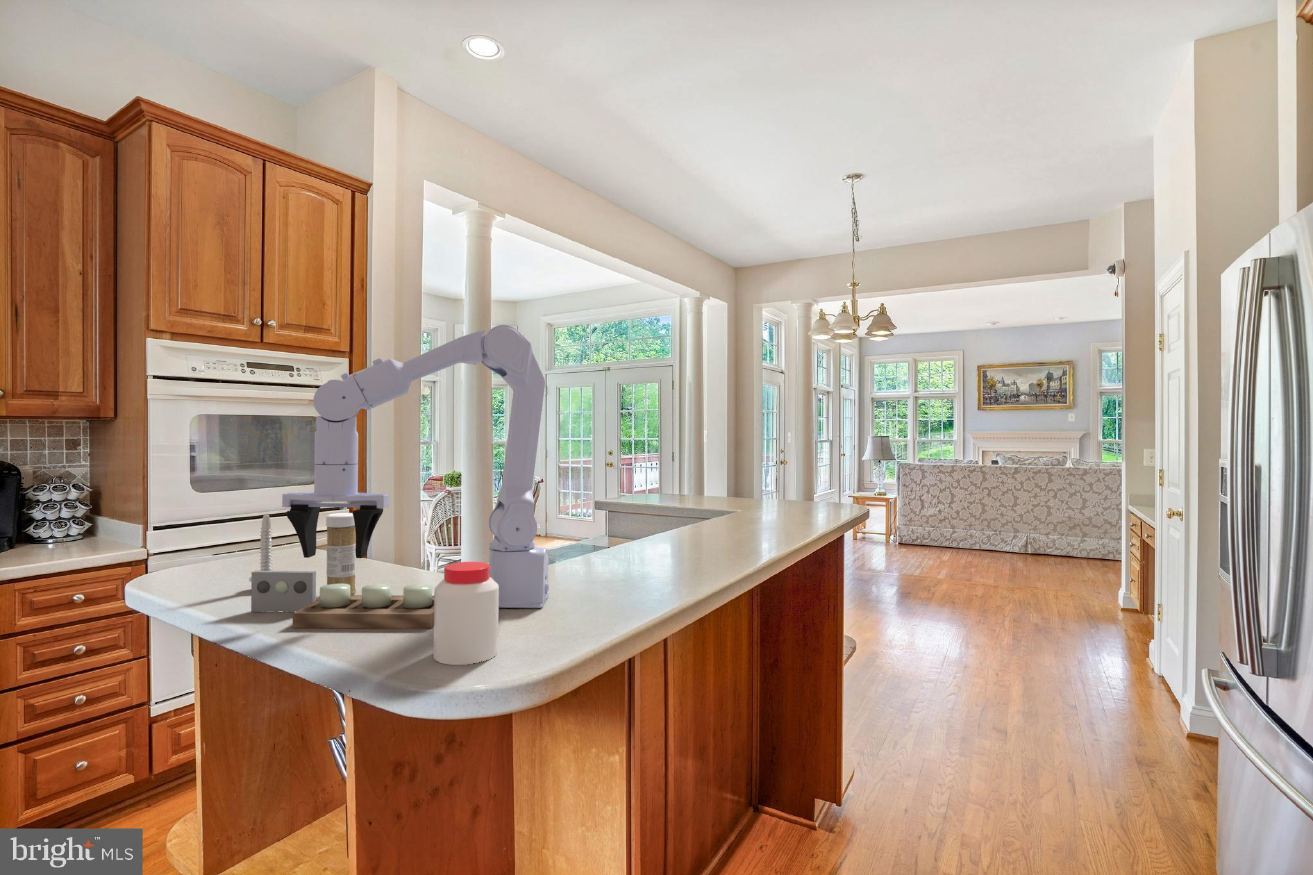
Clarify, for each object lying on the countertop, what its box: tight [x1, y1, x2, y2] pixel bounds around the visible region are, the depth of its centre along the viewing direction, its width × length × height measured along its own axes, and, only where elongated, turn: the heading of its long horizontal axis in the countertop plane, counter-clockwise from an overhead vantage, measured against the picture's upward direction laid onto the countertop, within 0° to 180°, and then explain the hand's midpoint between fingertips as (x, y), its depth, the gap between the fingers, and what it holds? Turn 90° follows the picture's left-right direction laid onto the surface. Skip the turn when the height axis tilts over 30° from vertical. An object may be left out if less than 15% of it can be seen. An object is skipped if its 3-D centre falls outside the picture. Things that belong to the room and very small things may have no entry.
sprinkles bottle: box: [325, 512, 357, 595], centre depth 107 cm, size 5×5×13 cm
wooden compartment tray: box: [292, 594, 434, 630], centre depth 94 cm, size 19×10×2 cm, turn 92°
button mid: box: [361, 583, 392, 608], centre depth 94 cm, size 4×4×2 cm
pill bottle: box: [432, 561, 500, 666], centre depth 80 cm, size 8×8×11 cm
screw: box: [248, 513, 273, 583], centre depth 109 cm, size 13×5×5 cm
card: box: [250, 570, 317, 613], centre depth 97 cm, size 9×1×6 cm, turn 92°
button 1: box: [319, 584, 350, 608], centre depth 94 cm, size 4×4×2 cm
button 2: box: [403, 583, 433, 608], centre depth 95 cm, size 4×4×2 cm
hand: (335, 556), depth 94 cm, fingers open, 7 cm apart
